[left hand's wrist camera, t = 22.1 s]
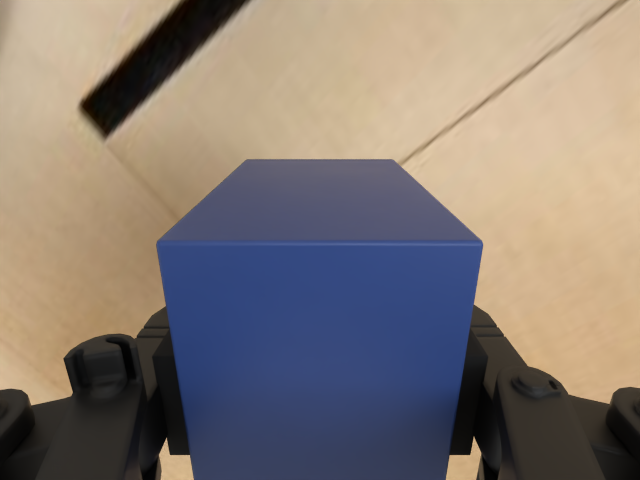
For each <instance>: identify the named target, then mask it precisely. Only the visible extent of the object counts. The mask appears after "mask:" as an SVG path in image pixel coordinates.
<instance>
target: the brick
mask: <svg viewBox="0 0 640 480" xmlns="http://www.w3.org/2000/svg"><path fill="white" fill-rule="evenodd" d="M156 246H157V252H158V258H159V265H160V271H161V277H162V283H163V290H164V296H165V302H166V308H167V315H168V321H169V327H170V333H171V339H172V346H173V352H174V358H175V364H176V371H177V377H178V383H179V389H180V396H181V402H182V408H183V414H184V421H185V427H186V433H187V439H188V446H189V452H190V458H191V464H192V470H193V477H194V480H446V474H447V467H448V461H449V455H450V449H451V442H452V436H453V430H454V424H455V418H456V411H457V405H458V399H459V393H460V386H461V380H462V374H463V368H464V361H465V355H466V349H467V343H468V336H469V330H470V324H471V318H472V311H473V305H474V299H475V293H476V286H477V280H478V274H479V268H480V261H481V255H482V249H483V242H482V241H481V240H480V239H479V238H478V237H477V236H476V235H475V234H474V233H473V232H472V231H471V230H469V229H468V228H467V227H466V226H465V225H464V224H463V223H462V222H461V221H460V220H459V219H457V218H456V217H455V216H454V215H453V214H452V213H451V212H450V211H449V210H448V209H447V208H445V207H444V206H443V205H442V204H441V203H440V202H439V201H438V200H437V199H436V198H435V197H433V196H432V195H431V194H430V193H429V192H428V191H427V190H426V189H425V188H424V187H423V186H421V185H420V184H419V183H418V182H417V181H416V180H415V179H414V178H413V177H412V176H411V175H409V174H408V173H407V172H406V171H405V170H404V169H403V168H402V167H401V166H400V165H399V164H397V163H396V162H395V161H394V160H392V159H247V160H245V161H244V162H243V163H242V164H241V165H240V166H239V167H238V168H237V169H236V170H234V171H233V172H232V173H231V174H230V175H229V176H228V177H227V178H226V179H225V180H224V181H222V182H221V183H220V184H219V185H218V186H217V187H216V188H215V189H214V190H213V191H212V192H210V193H209V194H208V195H207V196H206V197H205V198H204V199H203V200H202V201H201V202H200V203H198V204H197V205H196V206H195V207H194V208H193V209H192V210H191V211H190V212H189V213H187V214H186V215H185V216H184V217H183V218H182V219H181V220H180V221H179V222H178V223H177V224H175V225H174V226H173V227H172V228H171V229H170V230H169V231H168V232H167V233H166V234H165V235H163V236H162V237H161V238H160V239H159V240H158V241H157V244H156Z"/></svg>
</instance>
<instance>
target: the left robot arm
mask: <svg viewBox="0 0 640 480" xmlns="http://www.w3.org/2000/svg"><path fill="white" fill-rule="evenodd" d="M64 362H65V366H66V369H67V373H68V376H69V380H70V383H71V387H72V390H73V393H72V396H71V397H67V398H64V399H60V400H55V401H50V402H46V403H41V404H37V405H32V406H31V404H30V401H29V398H28V395H27V394H26V393H25V392H23V391H22V390H17V389H5V390H0V480H160V479H161V464H160V458H159V453H160V451H161V449H162V447H163V444H164V442H165V440H166V438H167V441H168V447H169V452H170V455H190V452H189V446H188V439H187V433H186V427H185V421H184V414H183V408H182V402H181V396H180V389H179V383H178V377H177V371H176V364H175V358H174V352H173V346H172V339H171V333H170V327H169V321H168V315H167V308H166V307H164V308H163V309H161V310H160V311H158V312H157V313H155V314H154V315H152V316H151V318H150V319H149V320H148V322H147V323H146V324H145V326H144V329H142V330H141V331H140V332H139V334H138V335H137V338H135V339H133V338H132V337H131V336H128V335H124V334H107V335H103V336H99V337H95V338H92V339H90V340H87V341H85V342H83V343H81V344H79V345H78V346H76V347H75V348H73V349H72V350H70V351H69V353H68V354H67V355H66V356H65V357H64ZM473 437H475V439H476V442H477V444H478V446H479V448H480V451H481V458H480V463H479V468H478V473H477V478H476V480H640V388H634V387H627V388H619V389H618V390H617V391H616V392H614V393H613V396H612V399H611V402H610V404H607V403H602V402H598V401H593V400H588V399H584V398H579V397H575V396H572V395H568V393H567V391H566V390H565V388H564V387H563V385H562V384H561V383H560V382H559V381H557V380H556V379H555V378H554V377H552V376H551V375H549V374H547V373H545V372H543V371H541V370H539V369H536V368H532V367H529V366H527V365H526V363H525V362H524V361H523V359H522V358H521V357H520V355H519V354H518V353H517V351H516V350H515V349H514V347H513V346H512V345H511V343H510V342H509V341H508V339H507V338H506V337H504V334H503V333H502V332H501V330H500V329H499V328H498V327H497V325H496V324H495V322H494V321H493V320H492V318H491V317H490V316H489V314H487V313H486V312H484V311H483V310H481V309H480V308H478V307H477V306H475V305H473V311H472V318H471V324H470V330H469V336H468V343H467V349H466V355H465V361H464V368H463V374H462V380H461V386H460V393H459V399H458V405H457V411H456V418H455V424H454V430H453V436H452V442H451V449H450V455H470V453H471V448H472V443H473Z"/></svg>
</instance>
